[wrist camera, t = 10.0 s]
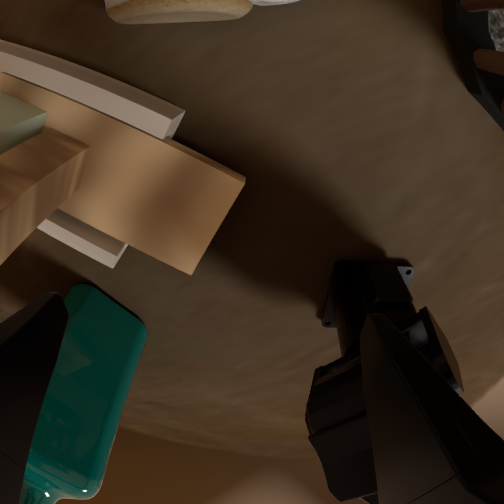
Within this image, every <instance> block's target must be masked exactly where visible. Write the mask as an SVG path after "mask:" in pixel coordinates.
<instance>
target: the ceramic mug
mask: <svg viewBox="0 0 504 504" xmlns="http://www.w3.org/2000/svg"><path fill="white" fill-rule="evenodd" d="M104 1H105V6H106V11H107V14H108V16H109V17H110V18H111V19H112V20H114V21H115V22H117V23H120V24H153V23H177V22H198V21H220V20H232V19H238V18H240V17H242V16H244V15H245V14H247V13H248V12H249V11H250V10H251V9H252V6H253V4H255V5H260V6H267V5H281V4H287V3H293V2H296V1H299V0H104Z"/></svg>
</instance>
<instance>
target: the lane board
mask: <svg viewBox="0 0 504 504" xmlns="http://www.w3.org/2000/svg"><path fill="white" fill-rule="evenodd" d="M3 72H6V73H9V74H11V75H14V76H17V77H19V78H22V79H25V80H27V81H30V82H32V83H35V84H37V85H40V86H42V87H45V88H47V89H50V90H52V91H55V92H57V93H60V94H62V95H64V96H67V97H69V98H72V99H74V100H76V101H79V102H81V103H83V104H86V105H88V106H90V107H93V108H95V109H97V110H99V111H102V112H104V113H106V114H108V115H111V116H113V117H115V118H117V119H119V120H122V121H124V122H126V123H128V124H130V125H133V126H135V127H137V128H139V129H141V130H143V131H145V132H147V133H150V134H152V135H154V136H156V137H158V138H160V139H162V140H163V139H164V138H165V137H167V138H170V139H172V138H173V136H174V134H175V132H176V130H177V128H178V125H179V123H180V121H181V119H182V117H183V115H184V113H185V111H186V110H184V109H182V108H180V107H177V106H175V105H173V104H171V103H169V102H167V101H165V100H162V99H160V98H158V97H156V96H154V95H151V94H149V93H147V92H145V91H142V90H140V89H138V88H135V87H133V86H131V85H128V84H126V83H123V82H121V81H119V80H116V79H114V78H111V77H109V76H106V75H104V74H101V73H99V72H96V71H94V70H91V69H88V68H86V67H83V66H81V65H78V64H75V63H72V62H70V61H67V60H64V59H61V58H58V57H55V56H52V55H50V54H47V53H44V52H40V51H37V50H34V49H31V48H28V47H25V46H21V45H18V44H15V43H11V42H8V41H4V40H1V39H0V78H1V74H2V73H3ZM37 228H38V229H40V230H42V231H43V232H45V233H47V234H49V235H50V236H52V237H54V238H56V239H58V240H59V241H61V242H63V243H65V244H67V245H69V246H70V247H72V248H74V249H76V250H78V251H80V252H82V253H83V254H85V255H87V256H89V257H91V258H93V259H95V260H97V261H99V262H101V263H103V264H105V265H107V266H108V267H110V268H112V269H113V268H114V266H115V265H116V263H117V262H118V260H119V258H120V257H121V255H122V254H123V252H124V250H125V249H126V247H127V246H128V244H126V243H124V242H122V241H120V240H118V239H116V238H114V237H112V236H110V235H108V234H106V233H104V232H102V231H100V230H98V229H96V228H94V227H93V226H91V225H89V224H87V223H85V222H83V221H81V220H79V219H77V218H75V217H73V216H72V215H70V214H68V213H66V212H64V211H62V210H60V209H59V208H57V209H56V210H55V211H53V212H52V213H51V214H50V215H49V216H48V217H47V218H46V219H45V220H44V221H43V222H42V223H41V224H40V225H39V226H38V227H37Z"/></svg>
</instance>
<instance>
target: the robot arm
mask: <svg viewBox="0 0 504 504" xmlns="http://www.w3.org/2000/svg"><path fill="white" fill-rule="evenodd" d="M339 267H343V268H342V269H338V268H339ZM407 270H409V271H408V272H406V271H407ZM413 274H414V268H413V266H412V265H411V264H401V263H393V262H371V261H365V262H356V261H338V262H336V263H335V264H334V266H333V271H332V276H331V280H330V285H329V289H328V294H327V298H326V303H325V307H324V312H323V316H322V325H323V326H324V327H336V328H337V332H338V338H339V343H340V349H341V355H342V357H341V358H339V359H337V360H335V361H333V362H331V363H329V364H327V365H325V366H320V367H318V368H316V369H315V372H314V377H313V381H312V386H311V390H310V394H309V399H308V402H307V405H306V414H305V416H306V417H305V421H306V424H307V428H308V431H309V434H310V435H309V436H308V438H309V441H310V442H311V444H312V446H313V447H314V449H315V450H316V452H317V454H318V456H319V458H320V461H321V463H322V466H323V469H324V472H325V476H326V480H327V484H328V488H329V490H330V492H331V493H332V494H333V495H334V496H335V497H336V498H337V499H338V500H339V501H340V502H345V501H348V500H353V499H356V498H360V499H361V500H363V501H364V502H366V503H367V504H504V440H503V439H502V438H501V437H500V436H499V435H498V434H496V433H495V432H494V431H493V430H492V429H491V428H490V427H489V426H488V425H487V424H486V423H485V422H484V421H483V420H482V419H481V418H480V417H479V416H478V415H477V414H476V413H475V412H474V411H473V409H472V408H471V407H470V406H469V405H468V404H467V403H466V402H465V401H464V400H463V398H462V397H459V395H460V394H462V393H463V392H464V389H463V384H462V379H461V374H460V370H459V365H458V362H457V360H456V358H455V356H454V353H453V351H452V349H451V347H450V345H449V342H448V340H447V338H446V337H445V335H444V333H443V332H442V330H441V329H440V327H439V325H438V324H437V322H436V321H435V319H434V318H433V316H432V314H431V313H430V311H429V310H428V308H427V307H426V306H425V307H424V308H422V309H420V310H419V312H418V313H417V312H416V310H415V307H414V305H413V303H412V301H413V298H412V296H411V294H410V292H409V290H408V287H409V285H410V282H411V280H412V277H413ZM68 319H69V314H68V310H67V308H66V306H65V303H64V301H63V299H62V296H61V295H60V294H59V293H56V292H47V293H45V294H44V295H42V296H41V297H39V298H38V299H36V300H34V301H33V302H31V303H30V304H28V305H27V306H25V307H24V308H22V309H21V310H19V311H18V312H16V313H15V314H13V315H12V316H11V317H9V318H8V319H6V320H5V321H3V322H2V323H0V504H19V503H20V497H21V491H22V485H23V480H24V475H25V470H26V469H25V468H26V465H27V461H28V456H29V452H30V448H31V444H32V440H33V436H34V432H35V429H36V425H37V421H38V418H39V414H40V411H41V408H42V404H43V401H44V398H45V395H46V392H47V389H48V386H49V383H50V380H51V377H52V374H53V371H54V368H55V365H56V362H57V359H58V355H59V352H60V348H61V344H62V340H63V337H64V333H65V330H66V326H67V323H68ZM327 321H329V322H327Z"/></svg>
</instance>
